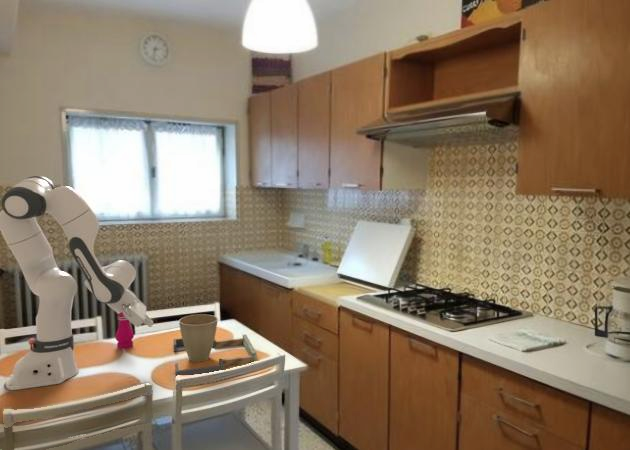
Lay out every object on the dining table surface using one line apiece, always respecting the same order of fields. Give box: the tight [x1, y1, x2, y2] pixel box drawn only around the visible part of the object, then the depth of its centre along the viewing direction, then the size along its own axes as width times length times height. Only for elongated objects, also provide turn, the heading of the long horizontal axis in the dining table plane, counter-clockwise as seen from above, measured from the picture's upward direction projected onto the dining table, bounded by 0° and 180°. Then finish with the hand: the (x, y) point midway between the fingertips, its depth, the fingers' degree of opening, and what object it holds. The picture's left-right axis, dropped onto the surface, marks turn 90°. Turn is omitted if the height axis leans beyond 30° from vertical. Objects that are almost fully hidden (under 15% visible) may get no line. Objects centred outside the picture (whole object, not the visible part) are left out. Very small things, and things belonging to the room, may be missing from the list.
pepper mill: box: [115, 311, 135, 350], centre depth 196 cm, size 7×7×20 cm
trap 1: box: [173, 337, 217, 353], centre depth 196 cm, size 17×8×3 cm, turn 108°
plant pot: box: [178, 314, 219, 363], centre depth 183 cm, size 15×15×16 cm
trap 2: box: [174, 358, 225, 377], centre depth 169 cm, size 17×8×3 cm, turn 108°
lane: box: [215, 334, 257, 368], centre depth 187 cm, size 13×24×4 cm, turn 18°
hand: (152, 324), depth 177 cm, fingers closed
